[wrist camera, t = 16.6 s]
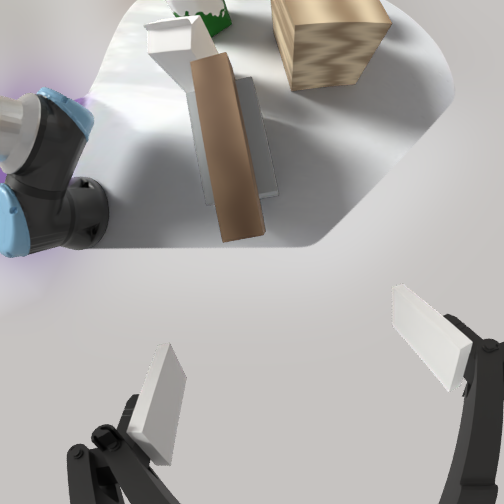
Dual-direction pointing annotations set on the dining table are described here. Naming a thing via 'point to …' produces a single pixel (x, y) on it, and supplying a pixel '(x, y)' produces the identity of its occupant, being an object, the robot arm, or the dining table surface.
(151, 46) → the milk
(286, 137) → the dining table surface
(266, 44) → the dining table surface
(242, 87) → the grey block
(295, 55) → the oak block
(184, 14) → the milk carton
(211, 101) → the bar
